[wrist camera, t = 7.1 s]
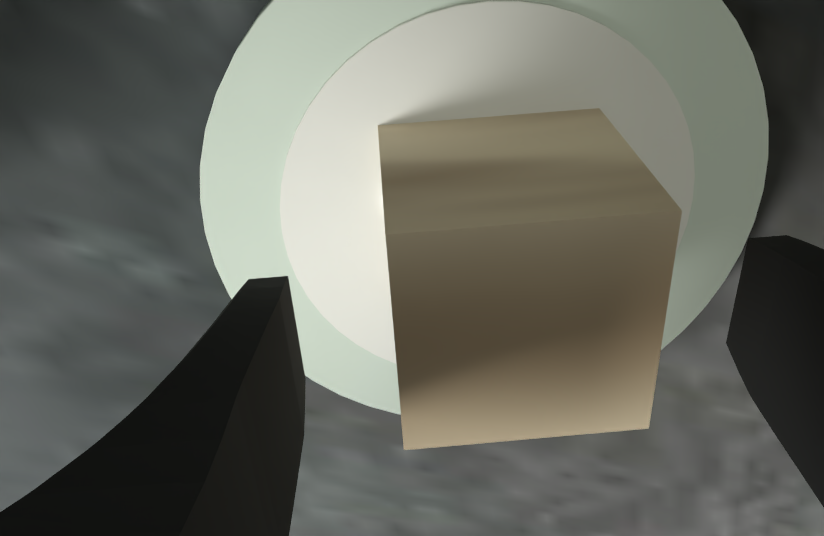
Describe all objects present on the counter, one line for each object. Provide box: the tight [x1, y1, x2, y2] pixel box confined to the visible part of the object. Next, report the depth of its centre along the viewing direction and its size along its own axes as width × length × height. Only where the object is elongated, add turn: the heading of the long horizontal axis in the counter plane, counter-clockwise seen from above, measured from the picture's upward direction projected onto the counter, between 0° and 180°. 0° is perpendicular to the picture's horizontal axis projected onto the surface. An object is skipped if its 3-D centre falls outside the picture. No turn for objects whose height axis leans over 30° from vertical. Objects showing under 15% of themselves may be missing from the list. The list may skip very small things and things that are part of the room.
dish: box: [200, 0, 769, 414], centre depth 15 cm, size 11×11×1 cm
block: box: [378, 108, 682, 450], centre depth 13 cm, size 4×4×4 cm
